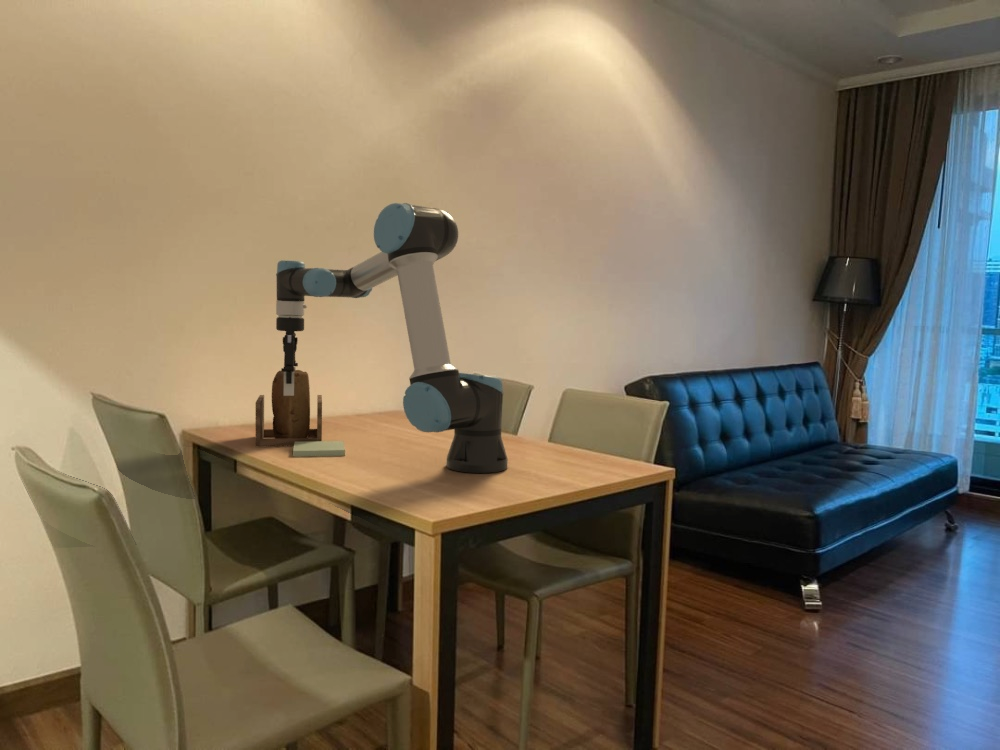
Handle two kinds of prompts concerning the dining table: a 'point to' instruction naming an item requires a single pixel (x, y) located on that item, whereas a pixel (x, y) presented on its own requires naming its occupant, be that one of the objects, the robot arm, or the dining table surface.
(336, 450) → the pad
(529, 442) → the dining table surface
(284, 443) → the slot box
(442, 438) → the dining table surface
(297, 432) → the block
